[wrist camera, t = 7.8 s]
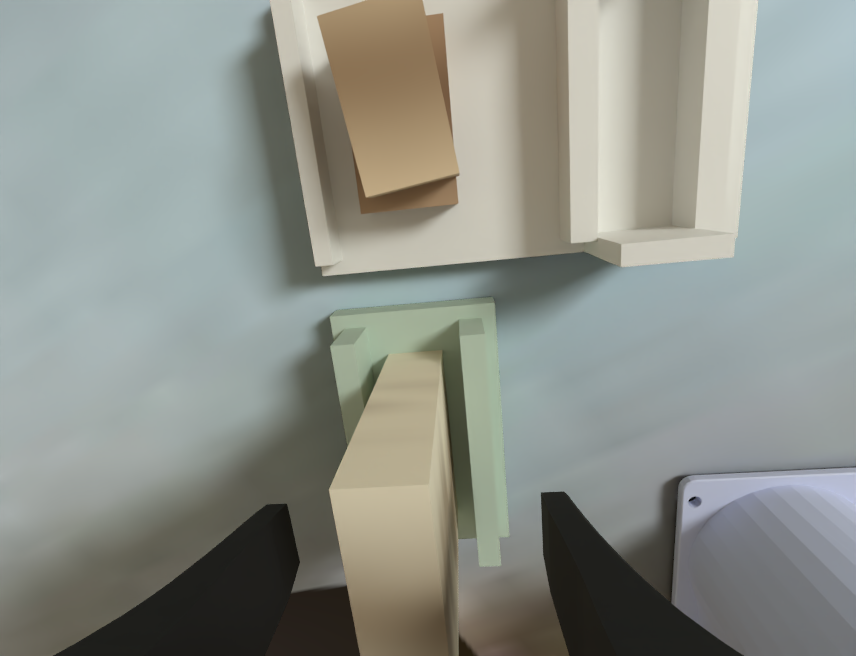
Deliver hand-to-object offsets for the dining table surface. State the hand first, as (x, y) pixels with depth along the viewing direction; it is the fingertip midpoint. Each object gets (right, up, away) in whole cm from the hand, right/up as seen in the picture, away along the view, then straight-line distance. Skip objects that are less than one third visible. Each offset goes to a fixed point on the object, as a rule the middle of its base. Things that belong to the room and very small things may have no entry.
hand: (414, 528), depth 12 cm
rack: (+3, +13, +3) cm, 13 cm away
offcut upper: (-1, +12, 0) cm, 12 cm away
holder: (0, +2, +6) cm, 6 cm away
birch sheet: (0, +1, +5) cm, 5 cm away
